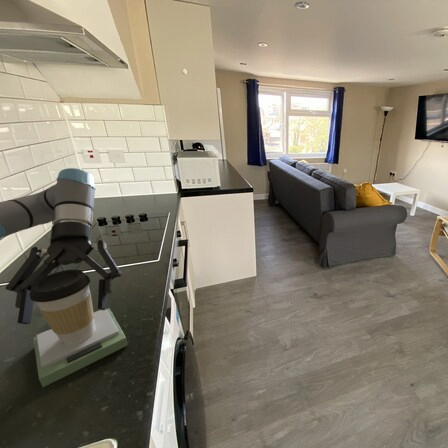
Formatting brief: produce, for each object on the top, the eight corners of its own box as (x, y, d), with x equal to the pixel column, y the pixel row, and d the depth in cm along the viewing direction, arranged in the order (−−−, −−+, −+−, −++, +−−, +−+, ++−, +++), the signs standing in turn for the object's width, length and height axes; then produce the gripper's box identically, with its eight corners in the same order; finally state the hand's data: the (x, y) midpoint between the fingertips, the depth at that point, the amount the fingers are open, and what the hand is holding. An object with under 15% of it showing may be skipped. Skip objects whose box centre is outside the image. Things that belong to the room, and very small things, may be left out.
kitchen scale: (36, 345, 62) (31, 335, 61) (111, 315, 72) (108, 305, 71) (42, 387, 52) (37, 376, 51) (128, 345, 62) (125, 334, 61)
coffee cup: (100, 314, 67) (84, 263, 62) (108, 335, 61) (91, 280, 55) (49, 334, 61) (26, 279, 55) (52, 360, 54) (26, 300, 49)
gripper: (135, 227, 71) (135, 306, 64) (17, 238, 63) (1, 331, 55) (126, 215, 65) (126, 301, 57) (-7, 225, 56) (-28, 328, 49)
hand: (64, 316), depth 56 cm, fingers open, 13 cm apart
